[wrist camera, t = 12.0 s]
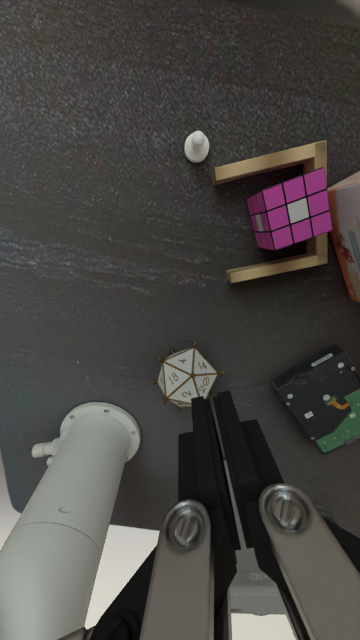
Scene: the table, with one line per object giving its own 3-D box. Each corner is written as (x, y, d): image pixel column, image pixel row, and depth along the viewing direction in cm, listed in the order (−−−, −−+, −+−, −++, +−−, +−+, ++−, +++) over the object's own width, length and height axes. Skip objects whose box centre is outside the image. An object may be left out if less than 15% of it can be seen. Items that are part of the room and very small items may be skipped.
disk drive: (267, 379, 36) (314, 443, 40) (274, 391, 33) (323, 458, 37) (333, 341, 34) (376, 412, 37) (346, 350, 31) (391, 426, 35)
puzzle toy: (305, 230, 29) (333, 230, 23) (258, 247, 29) (274, 251, 24) (296, 179, 27) (324, 165, 21) (246, 198, 28) (261, 190, 22)
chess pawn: (180, 144, 26) (179, 131, 23) (200, 129, 25) (203, 113, 22) (192, 168, 27) (193, 159, 23) (212, 153, 26) (217, 142, 23)
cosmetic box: (260, 455, 41) (305, 584, 26) (260, 485, 43) (301, 619, 28) (209, 458, 41) (224, 588, 26) (212, 488, 43) (227, 622, 29)
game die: (183, 338, 38) (196, 320, 28) (221, 380, 37) (248, 376, 27) (138, 378, 35) (135, 373, 26) (178, 424, 34) (191, 437, 24)
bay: (227, 279, 31) (231, 283, 28) (211, 173, 27) (214, 167, 24) (316, 260, 30) (328, 263, 27) (313, 148, 26) (326, 139, 23)
